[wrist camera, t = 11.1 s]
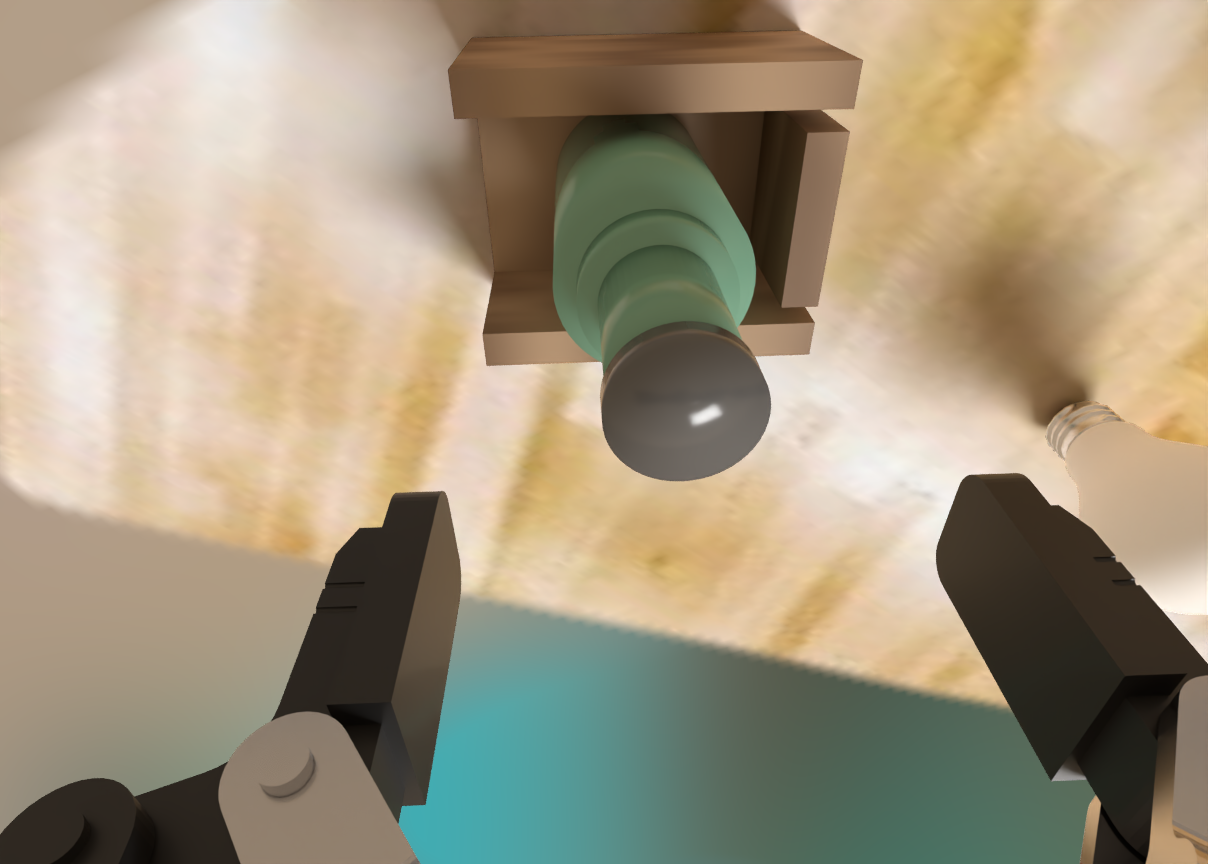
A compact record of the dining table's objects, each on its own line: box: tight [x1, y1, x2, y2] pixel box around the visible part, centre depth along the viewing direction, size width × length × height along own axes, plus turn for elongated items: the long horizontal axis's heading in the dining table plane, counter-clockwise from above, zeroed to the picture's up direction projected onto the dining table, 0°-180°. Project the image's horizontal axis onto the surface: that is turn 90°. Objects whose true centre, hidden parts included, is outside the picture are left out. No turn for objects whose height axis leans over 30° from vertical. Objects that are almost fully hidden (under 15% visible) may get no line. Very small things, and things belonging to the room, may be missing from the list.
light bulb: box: [1045, 401, 1208, 615], centre depth 29 cm, size 7×7×11 cm
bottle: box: [553, 113, 771, 481], centre depth 19 cm, size 5×5×15 cm
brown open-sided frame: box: [448, 31, 863, 366], centre depth 24 cm, size 11×9×6 cm
